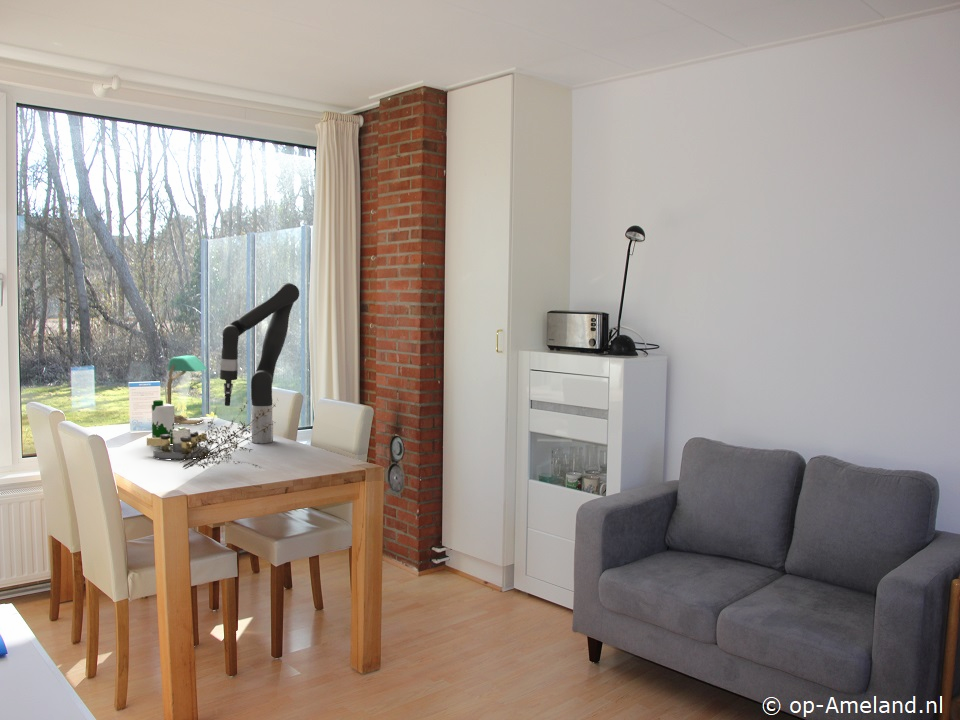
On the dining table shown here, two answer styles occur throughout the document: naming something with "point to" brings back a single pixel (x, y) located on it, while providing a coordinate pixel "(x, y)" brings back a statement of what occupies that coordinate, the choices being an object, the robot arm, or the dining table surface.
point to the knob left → (183, 444)
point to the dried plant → (220, 444)
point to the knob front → (160, 441)
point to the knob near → (197, 438)
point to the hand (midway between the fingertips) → (227, 404)
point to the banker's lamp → (180, 365)
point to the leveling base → (176, 454)
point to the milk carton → (162, 419)
